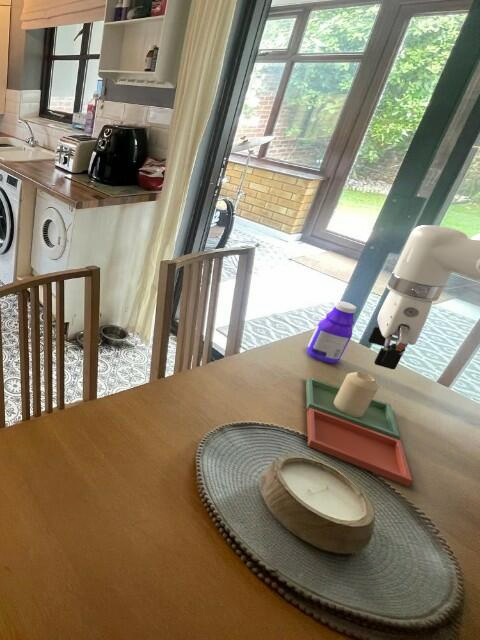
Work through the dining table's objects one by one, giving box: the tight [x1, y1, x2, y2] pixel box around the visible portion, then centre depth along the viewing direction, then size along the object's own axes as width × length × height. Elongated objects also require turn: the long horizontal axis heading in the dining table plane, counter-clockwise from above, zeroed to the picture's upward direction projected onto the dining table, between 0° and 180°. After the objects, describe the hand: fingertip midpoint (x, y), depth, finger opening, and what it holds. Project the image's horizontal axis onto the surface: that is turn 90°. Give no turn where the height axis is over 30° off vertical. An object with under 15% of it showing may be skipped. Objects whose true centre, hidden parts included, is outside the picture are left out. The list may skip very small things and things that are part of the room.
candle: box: [333, 371, 380, 417], centre depth 95 cm, size 6×6×10 cm
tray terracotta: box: [306, 408, 413, 487], centre depth 87 cm, size 16×12×2 cm
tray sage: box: [305, 376, 400, 440], centre depth 97 cm, size 16×12×2 cm
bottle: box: [306, 300, 357, 364], centre depth 112 cm, size 7×6×17 cm
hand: (380, 354), depth 90 cm, fingers open, 9 cm apart
